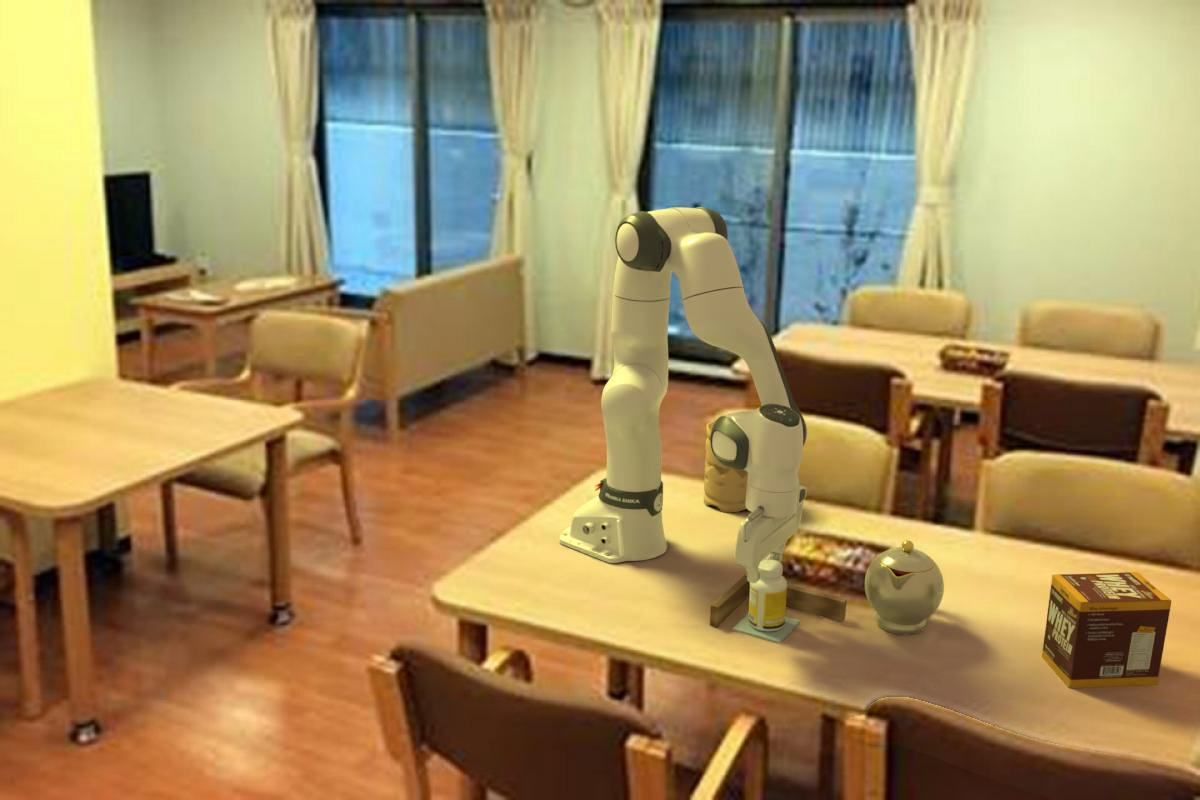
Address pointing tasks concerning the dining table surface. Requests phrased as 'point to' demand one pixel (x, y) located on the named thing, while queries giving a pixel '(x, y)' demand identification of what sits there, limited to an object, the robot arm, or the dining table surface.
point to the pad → (767, 635)
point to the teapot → (903, 589)
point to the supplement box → (1105, 629)
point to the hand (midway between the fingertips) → (764, 571)
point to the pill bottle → (768, 597)
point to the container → (723, 482)
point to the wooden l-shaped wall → (795, 600)
